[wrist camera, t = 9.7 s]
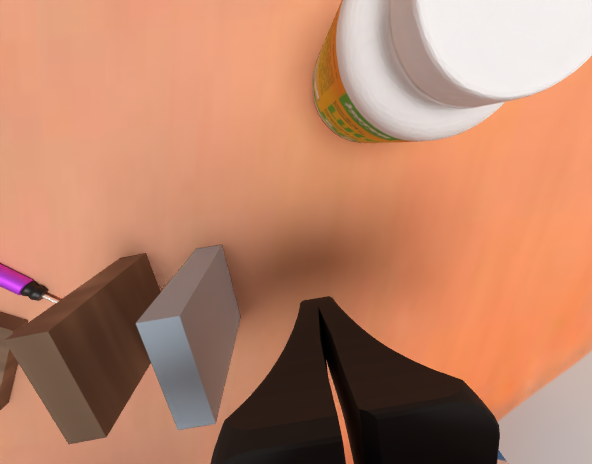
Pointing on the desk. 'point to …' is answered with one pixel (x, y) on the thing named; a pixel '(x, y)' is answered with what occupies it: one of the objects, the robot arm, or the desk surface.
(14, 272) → the purple slender piece
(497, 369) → the desk surface
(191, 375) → the domino
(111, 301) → the domino
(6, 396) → the domino
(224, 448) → the robot arm
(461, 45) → the supplement bottle
